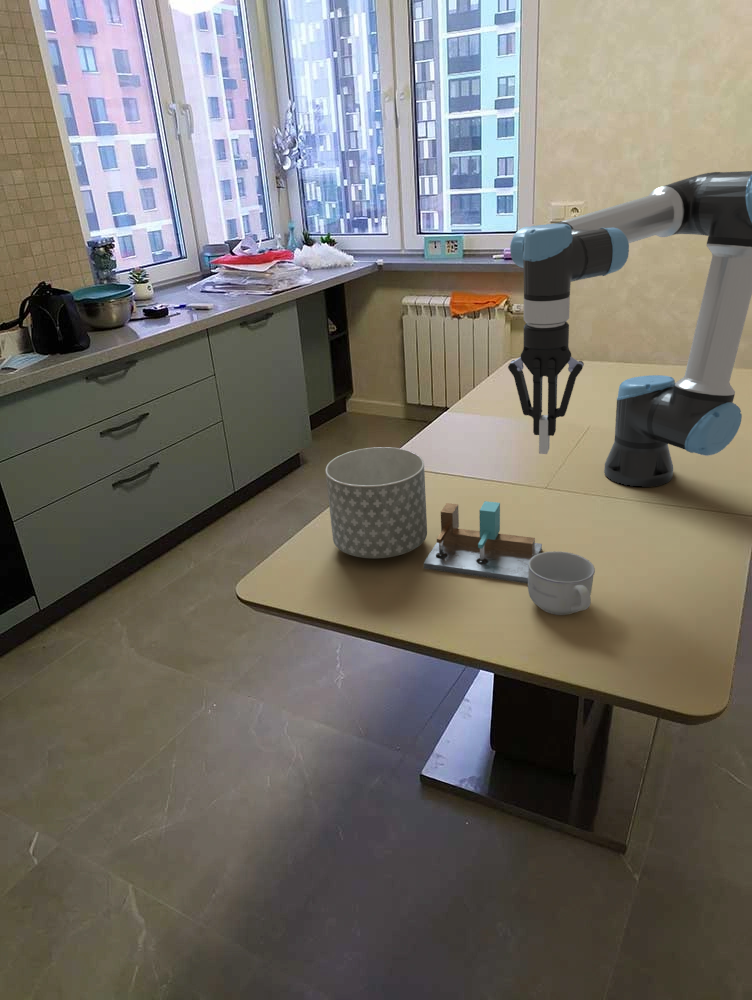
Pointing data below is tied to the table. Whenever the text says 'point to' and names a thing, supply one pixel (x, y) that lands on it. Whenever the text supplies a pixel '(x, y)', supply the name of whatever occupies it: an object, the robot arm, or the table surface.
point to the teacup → (560, 582)
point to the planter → (377, 501)
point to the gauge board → (463, 554)
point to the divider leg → (488, 523)
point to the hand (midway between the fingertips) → (544, 450)
